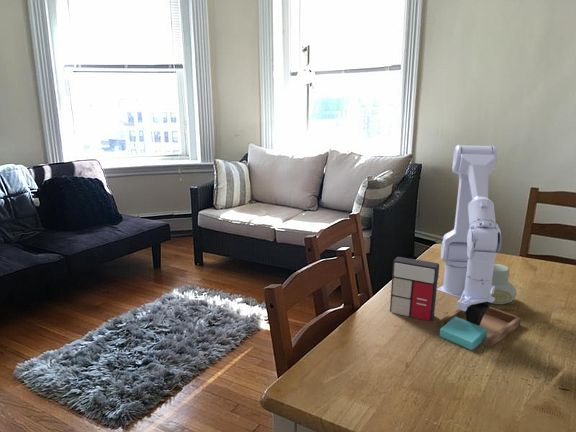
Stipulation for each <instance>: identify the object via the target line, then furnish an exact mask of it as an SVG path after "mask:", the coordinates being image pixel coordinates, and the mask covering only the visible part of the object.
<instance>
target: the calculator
mask: <svg viewBox="0 0 576 432" xmlns="http://www.w3.org/2000/svg"><path fill="white" fill-rule="evenodd" d="M439 270H440V264H439V263H436V262H432V261H426V260H420V259H414V258H407V257H402V256H397V257H396V258H395V259H394V260H393V262H392V273H391V276H392V277H391V288H390V289H391V290H390V304H389V306H390V307H389V311H390V313H392V314H396V315H401V316H405V317H411V318H413V319H419V320H422V321H427V322H429V321H433V319H434V317H435V310H436V309H435V308H436V302H437V301H436V298H437V291H438V290H437V287H438V280H439V273H440V271H439Z"/></svg>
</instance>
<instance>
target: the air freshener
mask: <svg viewBox="0 0 576 432" xmlns="http://www.w3.org/2000/svg"><path fill="white" fill-rule="evenodd" d="M509 276H510V268H509V267H508V266H506V265H503V264H501V263H494V270H493V277H492V284H491V285H492V286H495V290H494V294H492V295H491V296H492V297H494V298H495V301H493V302H491V304H492V305H505V304H509V303H511V302H512V301H514V300H515V299H516V298H517V294H518V293H517V288H516V287H515V286H514V285H513V283H512V282H510V281H509V278H510V277H509Z"/></svg>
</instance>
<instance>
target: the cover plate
mask: <svg viewBox="0 0 576 432" xmlns="http://www.w3.org/2000/svg"><path fill="white" fill-rule="evenodd" d="M439 337H441V338H442V339H445V340H447V341H450V342H452V343H454V344H456V345H459V346H460V347H463V348H466V349H468V350H470V351H473V350H474V349H476V348H477V347H478V346H479V345H482V344H481V343H482V342H483V341H484V340H485V339H486V337H487V329H486V328H483V327H481V326H478V325H476V324H473V323H471V322H468V321H466V320H463V319H460V318H458V317H454V318H453V319H452V320H450V321H449V322H448V323H447V324H446V325H444V326H443V327H440V328H439Z"/></svg>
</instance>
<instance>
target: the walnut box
mask: <svg viewBox="0 0 576 432" xmlns="http://www.w3.org/2000/svg"><path fill="white" fill-rule="evenodd" d="M454 317H458V318H460V319H463V320H466V315H465V312H464V311H462V310H459V309H456V310H455V311H453V312H452V313H450V314H448V315H447V316H445V317H443V318H441V321H440V328H442V327H443V326H444V325H446V324H447V323H448V322H449V321H450V320H452V319H453V318H454ZM521 321H522V317H520V316H517V315H514V314H512V313H509V312H506V311H503V310H501V309H498V308H495V307H492V306H490V307H489V308H488V309H487V311H486V312H485V314H484V316H483V318H482V321H481V323H480V326H481V327H483V328H486V329H487V337H486V339H485V340H484V341H483V342H482V343H481V344H480V345H483V346H486V347H487V348H493V346H495V345H496V344H498V343H499V342H500V341H501V340H503V339H504V338H505V337H507V336H508V335H509V334H510V333H512V332H513V331H515V329H516V328H518V327H519V326H520V325H521Z"/></svg>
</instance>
